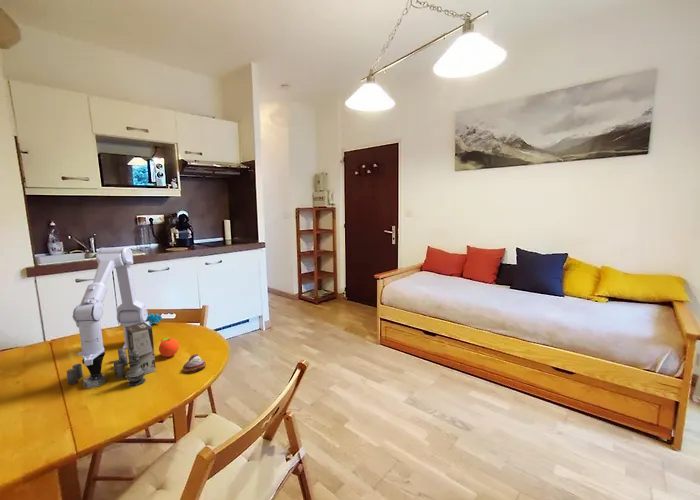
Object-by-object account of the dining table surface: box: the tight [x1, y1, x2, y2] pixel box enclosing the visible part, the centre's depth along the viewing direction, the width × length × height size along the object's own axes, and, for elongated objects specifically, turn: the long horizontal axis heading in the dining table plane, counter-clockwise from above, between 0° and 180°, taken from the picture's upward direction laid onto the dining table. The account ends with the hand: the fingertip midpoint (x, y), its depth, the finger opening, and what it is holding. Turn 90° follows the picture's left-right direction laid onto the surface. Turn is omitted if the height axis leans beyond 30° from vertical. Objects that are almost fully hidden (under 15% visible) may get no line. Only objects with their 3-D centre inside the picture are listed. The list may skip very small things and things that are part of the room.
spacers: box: [66, 347, 129, 386], centre depth 116 cm, size 16×17×4 cm
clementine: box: [158, 337, 180, 358], centre depth 128 cm, size 8×7×7 cm
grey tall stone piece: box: [125, 349, 147, 388], centre depth 109 cm, size 6×6×12 cm
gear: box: [145, 312, 163, 328], centre depth 157 cm, size 11×6×10 cm
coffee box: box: [125, 322, 157, 375], centre depth 117 cm, size 9×6×16 cm
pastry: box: [182, 353, 207, 374], centre depth 119 cm, size 8×8×5 cm
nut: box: [82, 372, 107, 390], centre depth 109 cm, size 6×5×2 cm
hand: (96, 375), depth 112 cm, fingers closed
